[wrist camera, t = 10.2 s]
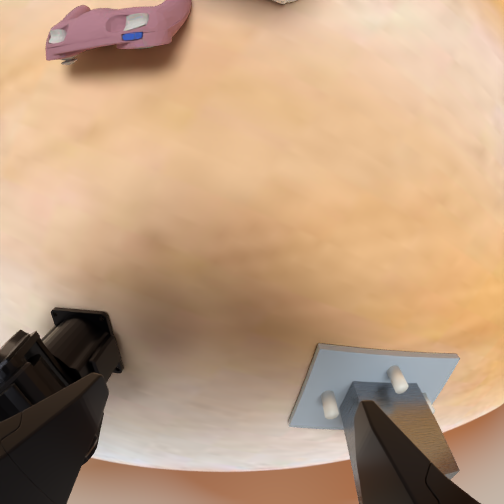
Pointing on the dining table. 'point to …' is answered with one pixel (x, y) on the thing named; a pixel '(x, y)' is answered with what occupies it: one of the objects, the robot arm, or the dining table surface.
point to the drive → (399, 422)
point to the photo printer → (283, 1)
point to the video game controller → (115, 28)
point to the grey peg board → (364, 379)
